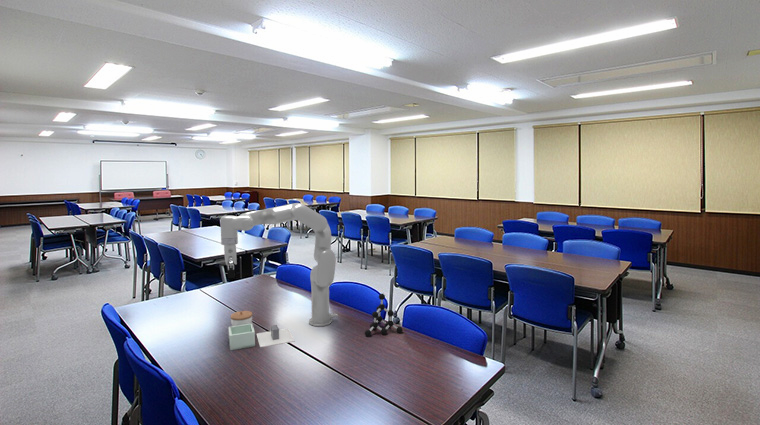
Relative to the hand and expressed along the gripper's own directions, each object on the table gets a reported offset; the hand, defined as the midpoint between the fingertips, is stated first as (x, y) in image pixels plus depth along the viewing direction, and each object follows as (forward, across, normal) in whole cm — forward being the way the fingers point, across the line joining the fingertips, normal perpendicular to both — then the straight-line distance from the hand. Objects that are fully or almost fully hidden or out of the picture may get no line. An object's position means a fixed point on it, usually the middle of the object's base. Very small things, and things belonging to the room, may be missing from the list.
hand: (230, 275), depth 183 cm
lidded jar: (+32, +8, -5) cm, 33 cm away
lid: (+32, -10, -19) cm, 38 cm away
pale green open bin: (+31, -10, -4) cm, 33 cm away
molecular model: (+32, -24, -69) cm, 80 cm away
